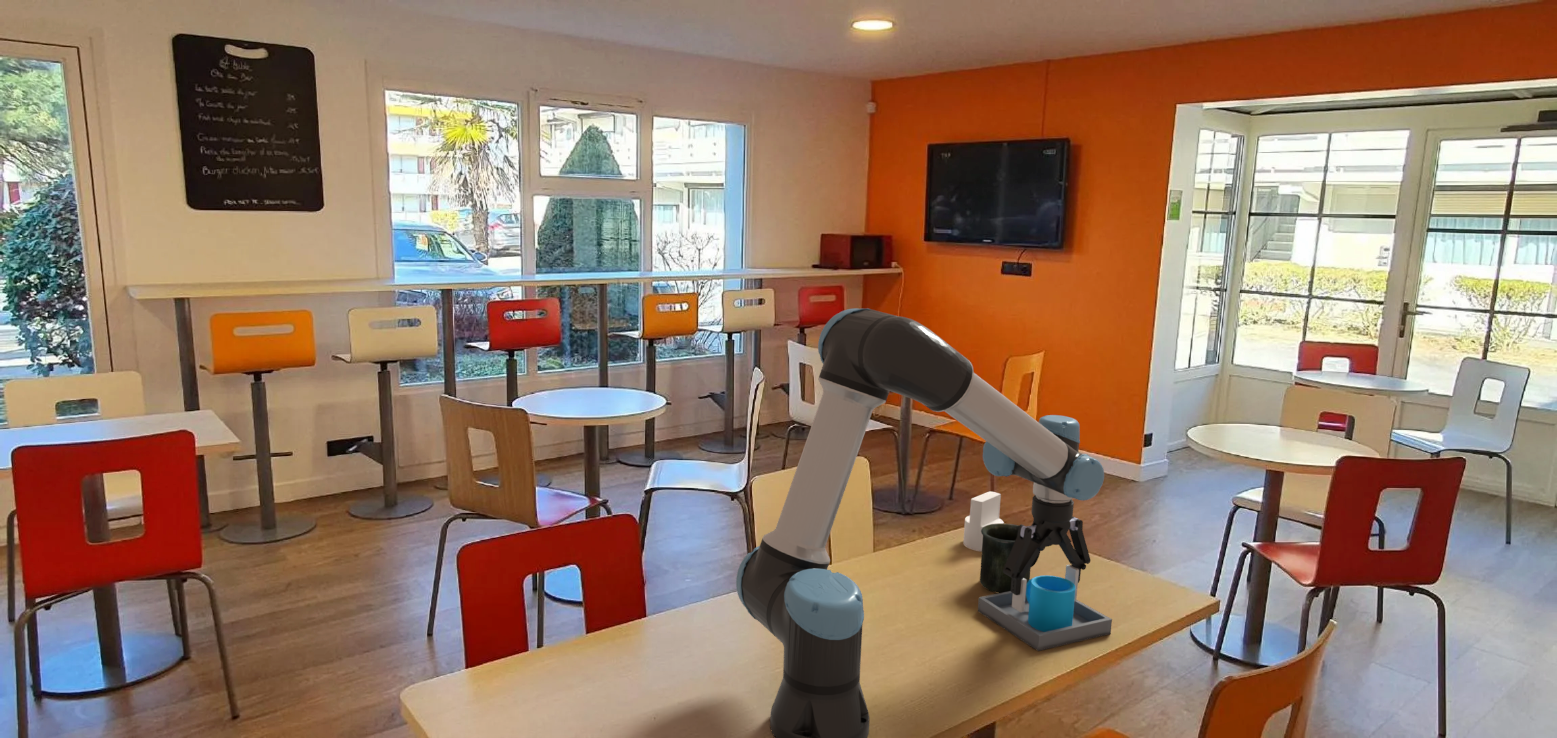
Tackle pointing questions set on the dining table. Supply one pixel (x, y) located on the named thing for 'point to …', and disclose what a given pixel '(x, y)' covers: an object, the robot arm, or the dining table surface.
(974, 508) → the base with upright slab
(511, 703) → the dining table surface
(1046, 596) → the mug
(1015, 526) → the mug
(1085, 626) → the tray
